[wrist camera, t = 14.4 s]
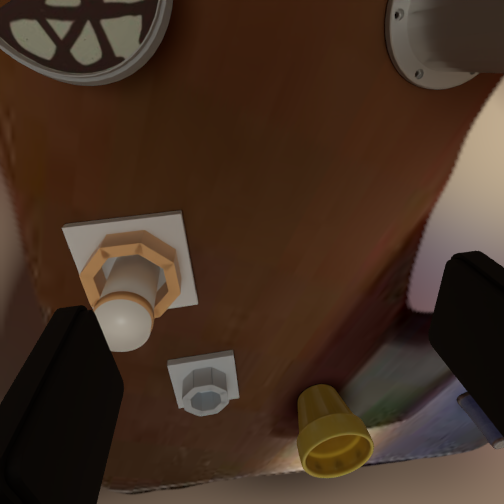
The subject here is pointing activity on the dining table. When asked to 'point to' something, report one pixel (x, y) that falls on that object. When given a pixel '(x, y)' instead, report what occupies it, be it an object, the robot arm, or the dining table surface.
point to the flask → (481, 420)
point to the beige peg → (128, 303)
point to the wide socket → (131, 243)
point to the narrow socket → (204, 382)
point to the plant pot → (330, 434)
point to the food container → (83, 37)
